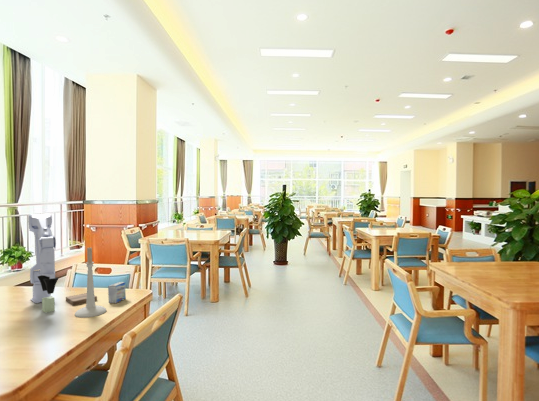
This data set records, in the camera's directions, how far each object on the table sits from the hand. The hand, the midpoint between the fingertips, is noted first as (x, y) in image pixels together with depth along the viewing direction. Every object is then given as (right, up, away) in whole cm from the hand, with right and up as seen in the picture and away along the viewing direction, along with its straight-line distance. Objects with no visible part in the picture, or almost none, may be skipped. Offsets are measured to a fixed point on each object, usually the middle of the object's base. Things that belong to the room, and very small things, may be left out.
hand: (48, 291), depth 163 cm
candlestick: (+21, -9, -3) cm, 23 cm away
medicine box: (+26, -9, +15) cm, 31 cm away
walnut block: (+7, -9, +15) cm, 19 cm away
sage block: (0, -9, 0) cm, 9 cm away
